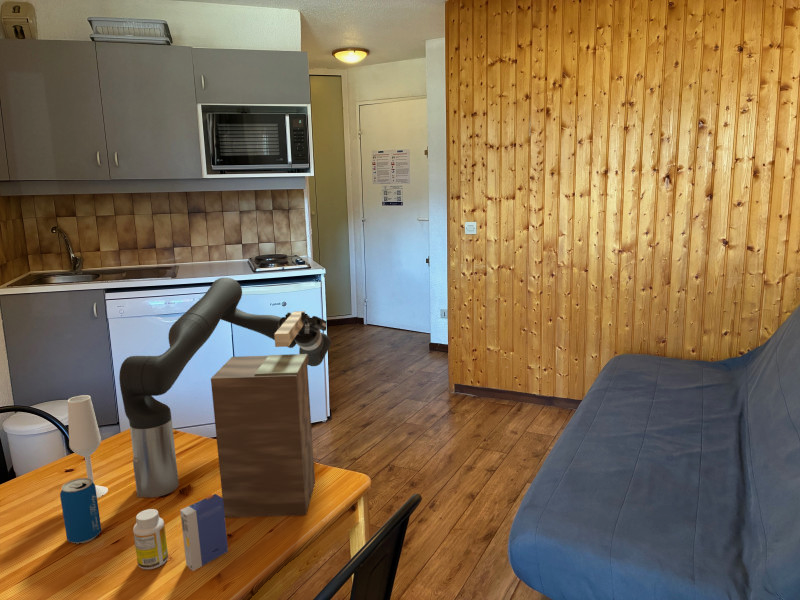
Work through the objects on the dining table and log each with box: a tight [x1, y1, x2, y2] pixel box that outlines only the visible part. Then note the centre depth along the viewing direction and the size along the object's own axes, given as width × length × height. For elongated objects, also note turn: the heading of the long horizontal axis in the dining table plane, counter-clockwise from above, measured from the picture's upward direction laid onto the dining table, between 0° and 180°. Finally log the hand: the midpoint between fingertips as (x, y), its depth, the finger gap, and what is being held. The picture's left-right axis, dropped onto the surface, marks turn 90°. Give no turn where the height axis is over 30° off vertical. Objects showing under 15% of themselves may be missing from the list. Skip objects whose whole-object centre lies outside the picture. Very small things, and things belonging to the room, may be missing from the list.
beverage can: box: [59, 477, 102, 545], centre depth 124 cm, size 6×6×12 cm
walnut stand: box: [210, 353, 316, 519], centre depth 135 cm, size 16×18×32 cm
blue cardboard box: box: [179, 493, 229, 572], centre depth 115 cm, size 8×3×12 cm, turn 139°
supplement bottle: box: [132, 508, 169, 570], centre depth 115 cm, size 6×6×10 cm
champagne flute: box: [67, 394, 109, 499], centre depth 141 cm, size 7×7×24 cm
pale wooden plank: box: [274, 310, 306, 348], centre depth 144 cm, size 24×3×3 cm, turn 0°
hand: (295, 315), depth 150 cm, fingers closed on pale wooden plank, 3 cm apart
